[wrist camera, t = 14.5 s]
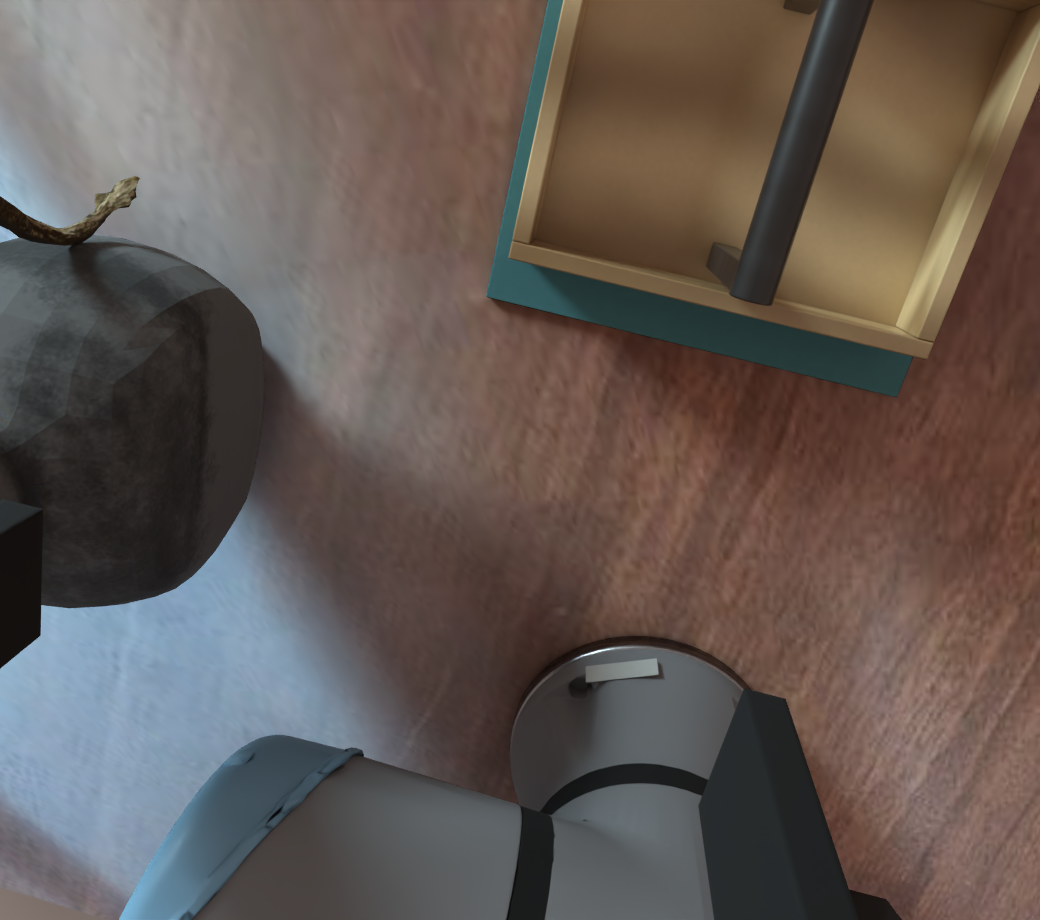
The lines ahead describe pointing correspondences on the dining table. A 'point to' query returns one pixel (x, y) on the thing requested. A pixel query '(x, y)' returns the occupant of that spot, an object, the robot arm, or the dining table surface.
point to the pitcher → (122, 405)
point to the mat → (665, 313)
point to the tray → (715, 137)
